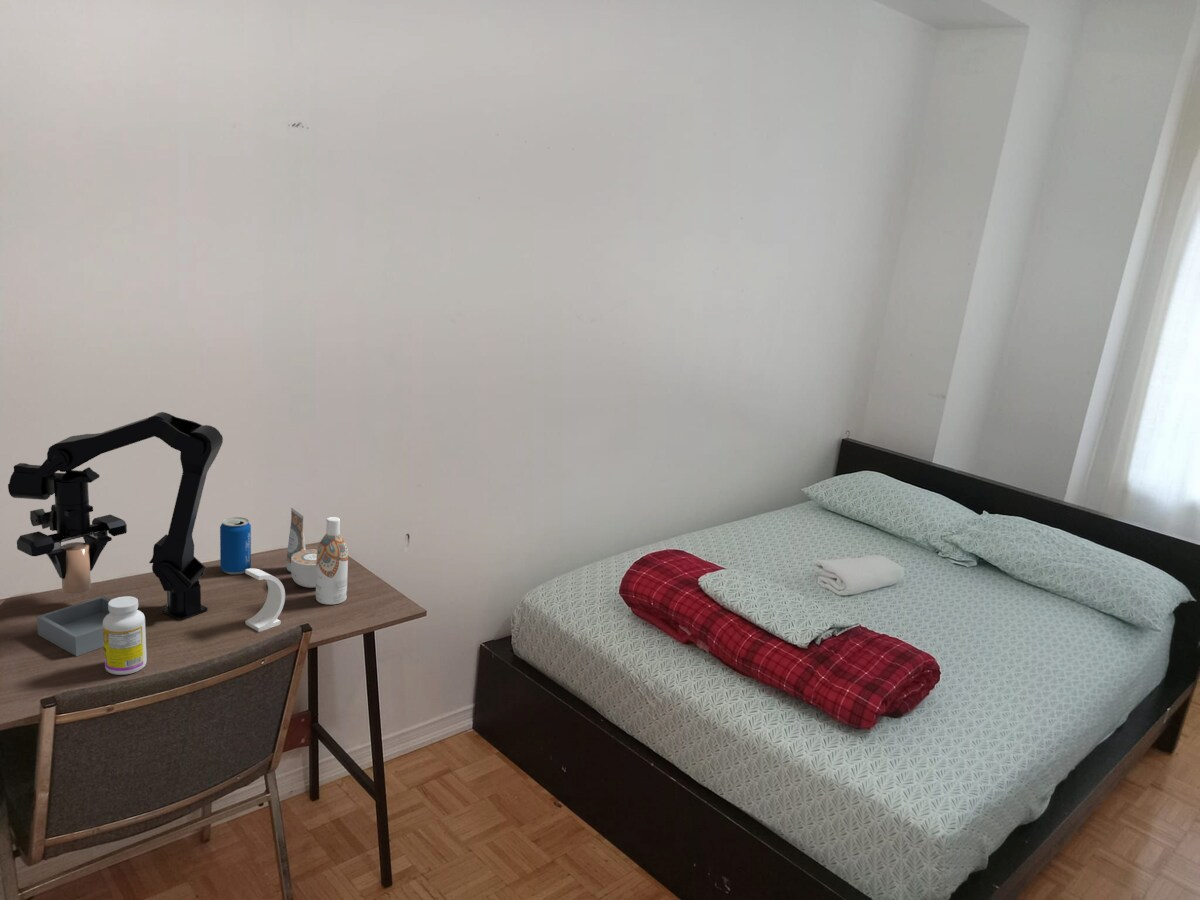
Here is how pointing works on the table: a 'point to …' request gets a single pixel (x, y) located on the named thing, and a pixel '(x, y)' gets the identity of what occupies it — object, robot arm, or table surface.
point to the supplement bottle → (124, 636)
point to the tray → (76, 626)
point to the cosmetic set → (319, 561)
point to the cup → (77, 568)
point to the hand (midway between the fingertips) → (76, 574)
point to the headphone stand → (267, 602)
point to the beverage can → (235, 545)
